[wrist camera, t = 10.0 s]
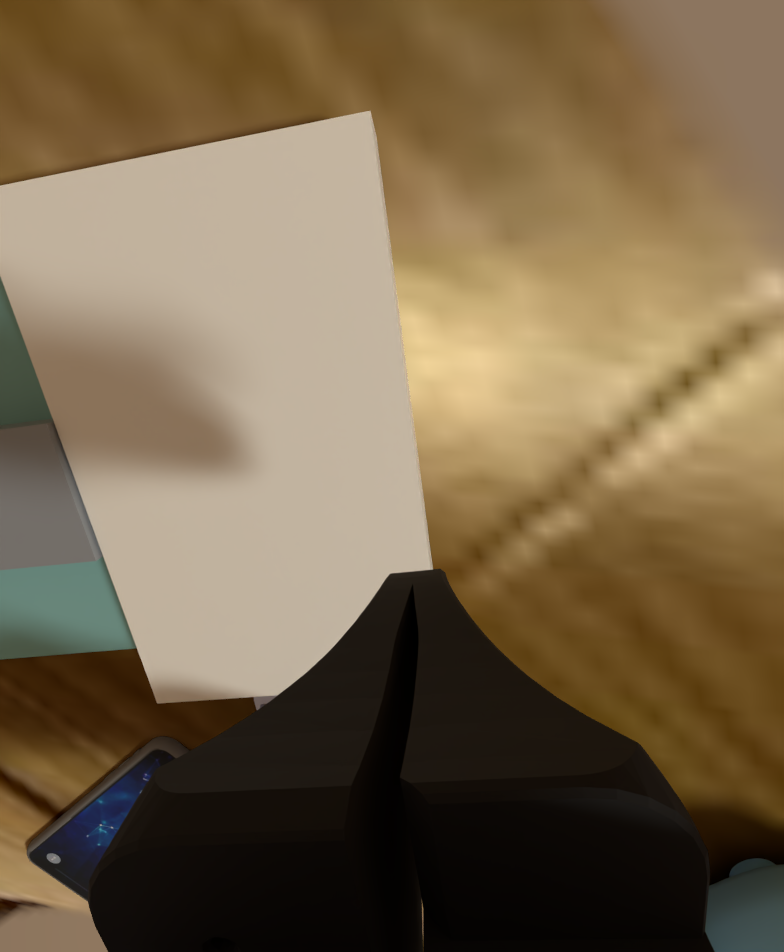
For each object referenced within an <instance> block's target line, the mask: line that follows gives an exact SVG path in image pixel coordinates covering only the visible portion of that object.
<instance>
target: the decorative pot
mask: <svg viewBox="0 0 784 952" xmlns="http://www.w3.org/2000/svg"><path fill="white" fill-rule="evenodd" d="M705 932H706V934H707V936H708V939H709V941H710V943H711V945H712V947H713V949H714V951H715V952H784V865H775V864H774V863H773V862H771V861H769V860H766V859H761V858H753V859H747V860H744V861H742V862H740V863H738V864H736V865H735V866H734V867H733V868H732V869H731V871H730V874H729V878H726V879H724V880H721V881H719V882H717V883H715V884H712V885H710V886H709V892H708V903H707V914H706V925H705Z"/></svg>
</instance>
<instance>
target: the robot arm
mask: <svg viewBox="0 0 784 952" xmlns="http://www.w3.org/2000/svg"><path fill="white" fill-rule="evenodd" d="M254 703H255V706H256V710H257V711H255V712H254V713H252V714H251V715H250V716H248V717H247V718H245V719H243V720H242V721H240V722H239V723H237V724H236V725H234V726H232V727H231V728H229V729H228V730H226V731H224V732H223V733H221V734H219V735H218V736H216V737H214V738H213V739H211V740H209V741H207V742H205V743H204V744H202V745H200V746H198V747H196V748H194V749H193V750H191V751H189V752H187V753H185V754H183V755H182V756H180V757H178V758H176V759H174V760H172V761H171V762H169V763H167V764H165V765H163V766H161V767H159V768H157V769H156V770H155V772H154V773H153V775H152V776H151V778H150V779H149V781H148V782H147V784H146V785H145V787H144V788H143V790H142V791H141V793H140V795H139V796H138V798H137V799H136V801H135V803H134V804H133V806H132V808H131V809H130V811H129V813H128V814H127V816H126V818H125V819H124V821H123V823H122V824H121V826H120V828H119V829H118V831H117V833H116V834H115V836H114V838H113V839H112V841H111V843H110V844H109V846H108V848H107V849H106V851H105V853H104V854H103V856H102V858H101V859H100V861H99V863H98V864H97V866H96V868H95V870H94V872H93V874H92V876H91V878H90V880H89V888H88V904H89V908H90V911H91V914H92V917H93V921H94V924H95V927H96V929H97V930H98V933H99V934H100V936H101V938H102V940H103V942H104V944H105V946H106V948H107V950H108V952H423V935H422V903H423V908H424V952H715V951H714V949H713V947H712V945H711V943H710V941H709V939H708V936H707V934H706V932H705V925H706V914H707V903H708V892H709V881H710V865H709V856H708V850H707V848H706V846H705V844H704V842H703V841H702V839H701V836H700V834H699V832H698V830H697V828H696V826H695V824H694V822H693V820H692V818H691V817H690V815H689V813H688V812H687V810H686V808H685V807H684V805H683V804H682V802H681V800H680V799H679V797H678V796H677V794H676V793H675V792H674V790H673V789H672V787H671V786H670V784H669V783H668V782H667V780H666V779H665V777H664V776H663V774H662V773H661V772H660V770H659V769H658V768H657V766H656V765H655V764H654V762H653V761H652V760H651V758H650V757H649V755H648V754H647V753H646V752H645V750H644V749H643V748H642V746H641V745H640V744H639V743H637V742H635V741H633V740H631V739H630V738H628V737H626V736H624V735H622V734H620V733H618V732H616V731H614V730H612V729H611V728H609V727H607V726H605V725H603V724H601V723H599V722H597V721H595V720H593V719H592V718H590V717H588V716H586V715H584V714H583V713H581V712H579V711H578V710H576V709H575V708H573V707H571V706H570V705H568V704H567V703H565V702H563V701H562V700H560V699H559V698H557V697H556V696H554V695H553V694H552V693H550V692H549V691H547V690H546V689H545V688H543V687H542V686H541V685H539V684H538V683H537V682H535V681H534V680H533V679H531V678H530V677H529V676H527V675H526V674H525V673H524V672H523V671H522V670H521V669H519V668H518V667H517V666H516V665H515V664H514V663H512V662H511V661H510V660H509V659H508V658H507V657H506V656H505V655H504V654H503V653H502V652H501V651H500V650H499V649H498V648H497V647H496V646H495V645H494V644H493V643H492V642H491V641H490V640H489V639H488V638H487V636H486V635H485V634H484V633H483V632H482V631H481V629H480V628H479V627H478V626H477V625H476V623H475V622H474V621H473V620H472V618H471V617H470V616H469V614H468V613H467V612H466V610H465V609H464V607H463V606H462V605H461V603H460V602H459V600H458V599H457V597H456V595H455V594H454V592H453V590H452V588H451V586H450V585H449V582H448V580H447V577H446V574H445V572H444V571H442V570H441V569H433V570H422V571H412V572H401V573H391V574H389V576H388V577H387V578H386V579H385V581H384V582H383V584H382V585H381V587H380V588H379V590H378V591H377V593H376V594H375V595H374V597H373V598H372V600H371V601H370V603H369V604H368V605H367V607H366V608H365V609H364V611H363V612H362V613H361V614H360V616H359V617H358V618H357V620H356V621H355V622H354V624H353V625H352V626H351V627H350V628H349V629H348V631H347V632H346V633H345V634H344V635H343V636H342V638H341V639H340V640H339V641H338V642H337V643H336V644H335V646H334V647H333V648H332V649H331V650H330V651H329V652H328V653H327V654H326V655H325V656H324V657H323V658H322V659H321V660H319V661H318V662H317V663H316V664H315V665H314V666H313V667H312V668H311V669H310V670H309V671H308V672H306V673H305V674H304V675H303V676H302V677H300V678H299V679H298V680H297V681H295V682H294V683H293V684H292V685H290V686H289V687H288V688H286V689H285V690H284V691H283V692H281V693H280V694H279V695H275V696H260V697H254ZM264 704H266V705H264ZM421 897H422V898H421Z"/></svg>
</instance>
